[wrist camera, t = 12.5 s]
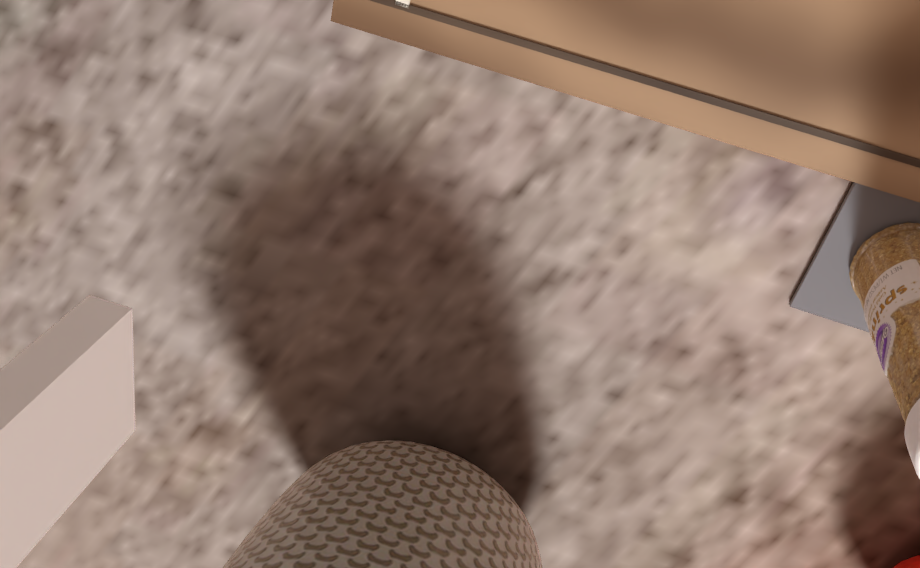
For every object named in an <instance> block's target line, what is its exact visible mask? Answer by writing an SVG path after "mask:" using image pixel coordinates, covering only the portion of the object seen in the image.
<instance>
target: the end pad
mask: <svg viewBox="0 0 920 568" xmlns="http://www.w3.org/2000/svg"><path fill="white" fill-rule="evenodd" d="M903 223H919V224H920V202H916V201H913V200H910V199H907V198H903V197H900V196H897V195H894V194H890V193H887V192H884V191H881V190H877V189H874V188H871V187H868V186H865V185H861V184H858V183H855V182H853V184H852V186H851V188H850V190H849V192H848V193H847V195H846V197H845V199H844V201H843V203H842V205H841V207H840V209H839V211H838V212H837V214H836V216H835V218H834V220H833V222H832V224H831V226H830V228H829V229H828V231H827V233H826V235H825V237H824V239H823V241H822V243H821V245H820V246H819V248H818V250H817V252H816V254H815V256H814V258H813V260H812V262H811V263H810V265H809V267H808V269H807V271H806V273H805V275H804V277H803V279H802V281H801V282H800V284H799V286H798V288H797V290H796V292H795V294H794V296H793V298H792V299H791V301H790V303H789V304H790V307H793V308H796V309H799V310H802V311H805V312H808V313H811V314H814V315H817V316H820V317H824V318H827V319H830V320H833V321H836V322H839V323H842V324H845V325H848V326H851V327H854V328H857V329H860V330H864V331H867V332H869V329H868V326H867V323H866V321H865V316H864V310H863V307H862V304H861V301H860V300H859V298H858V297H857V295H856V293H855V292H854V290H853V288H852V285H851V281H850V276H849V272H850V266H851V263H852V261H853V257H854V256H855V255H856V253H857V251H858V249H859V248H860V246H861V245H862V244H863V243H864V242H865V241H866V240H867V239H869V238H870V237H871V236H872V235H874V234H876V233H878V232H880V231H882V230H884V229H885V228H887V227H890V226H893V225H898V224H903Z"/></svg>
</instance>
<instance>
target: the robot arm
mask: <svg viewBox="0 0 920 568" xmlns="http://www.w3.org/2000/svg"><path fill="white" fill-rule="evenodd" d="M134 431H135V396H134V355H133V314H132V308H130V307H127V306H123V305H120V304H117V303H114V302H111V301H107V300H104V299H101V298H98V297H95V296H91V295H89V296H88V297H87V298H85V299H84V300H83V301H82V302H81V303H79V304H78V305H77V306H76V307H75V308H74V309H72V310H71V311H70V312H69V313H68V314H66V315H65V316H64V317H63V318H62V319H60V320H59V321H58V322H57V323H56V324H54V325H53V326H52V327H51V328H50V329H48V330H47V331H46V332H45V333H44V334H42V335H41V336H40V337H39V338H38V339H36V340H35V341H34V342H33V343H32V344H30V345H29V346H28V347H27V348H26V349H24V350H23V351H22V352H21V353H20V354H18V355H17V356H16V357H15V358H14V359H12V360H11V361H10V362H9V363H8V364H7V365H5V366H4V367H3V368H2V369H1V370H0V568H16V567H17V566H18V565H19V564H20V563H21V562H22V560H23V559H24V558H25V557H26V556H27V555H28V554H29V552H30V551H31V550H32V549H33V548H34V547H35V545H36V544H37V543H38V542H39V541H40V540H41V539H42V537H43V536H44V535H45V534H46V533H47V532H48V530H49V529H50V528H51V527H52V526H53V525H54V524H55V522H56V521H57V520H58V519H59V518H60V517H61V515H62V514H63V513H64V512H65V511H66V510H67V509H68V507H69V506H70V505H71V504H72V503H73V502H74V501H75V499H76V498H77V497H78V496H79V495H80V494H81V492H82V491H83V490H84V489H85V488H86V487H87V486H88V484H89V483H90V482H91V481H92V480H93V479H94V477H95V476H96V475H97V474H98V473H99V472H100V471H101V469H102V468H103V467H104V466H105V465H106V464H107V463H108V461H109V460H110V459H111V458H112V457H113V456H114V454H115V453H116V452H117V451H118V450H119V449H120V448H121V446H122V445H123V444H124V443H125V442H126V441H127V439H128V438H129V437H130V436H131V435H132V434H133V433H134Z"/></svg>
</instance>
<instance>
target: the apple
mask: <svg viewBox="0 0 920 568" xmlns="http://www.w3.org/2000/svg"><path fill="white" fill-rule="evenodd" d="M893 568H920V555H917V556H914V557H912V558H909V559H906V560H904V561H901V562H900V563H898V564H897V565H896V566H894V567H893Z"/></svg>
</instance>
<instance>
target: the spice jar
mask: <svg viewBox="0 0 920 568" xmlns="http://www.w3.org/2000/svg"><path fill="white" fill-rule="evenodd" d="M849 276H850V281H851V285H852V288H853V290H854V292H855V293H856V295H857V297H858V298H859V300H860V301H861V304H862V307H863V310H864V316H865V321H866V323H867V326H868V329H869V332H870V335H871V337H872V340H873V343H874V345H875V348H876V351H877V354H878V356H879V359H880V362H881V365H882V368H883V371H884V373H885V375H886V376H887V378H888V379H889V382H890V385H891V387H892V389H893V393H894V396H895V398H896V401H897V403H898V406H899V408H900V411H901V414H902V417H903V419H904V421H905V432H904V436H905V441H906V445H907V449H908V452H909V455H910V458H911V460H912V463H913V466H914V468H915V471H916V473H917V476H918V477H919V479H920V224H919V223H903V224H898V225H893V226H890V227H887V228H885V229H884V230H882V231H880V232H878V233H876V234H874V235H872V236H871V237H870V238H869V239H867V240H866V241H865V242H864V243H863V244H862V245H861V246H860V248H859V249H858V251H857V253H856V255H855V256H854V257H853V261H852V263H851V266H850V272H849Z"/></svg>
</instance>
